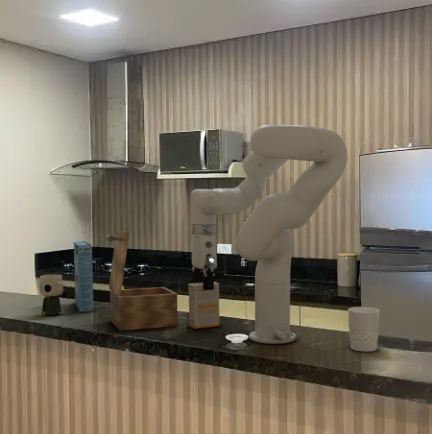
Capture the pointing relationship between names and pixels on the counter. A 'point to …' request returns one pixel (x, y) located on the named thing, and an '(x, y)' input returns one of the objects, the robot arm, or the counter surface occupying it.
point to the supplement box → (203, 306)
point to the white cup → (363, 328)
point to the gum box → (83, 276)
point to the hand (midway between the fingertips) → (202, 287)
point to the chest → (143, 308)
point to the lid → (118, 260)
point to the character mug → (51, 293)
